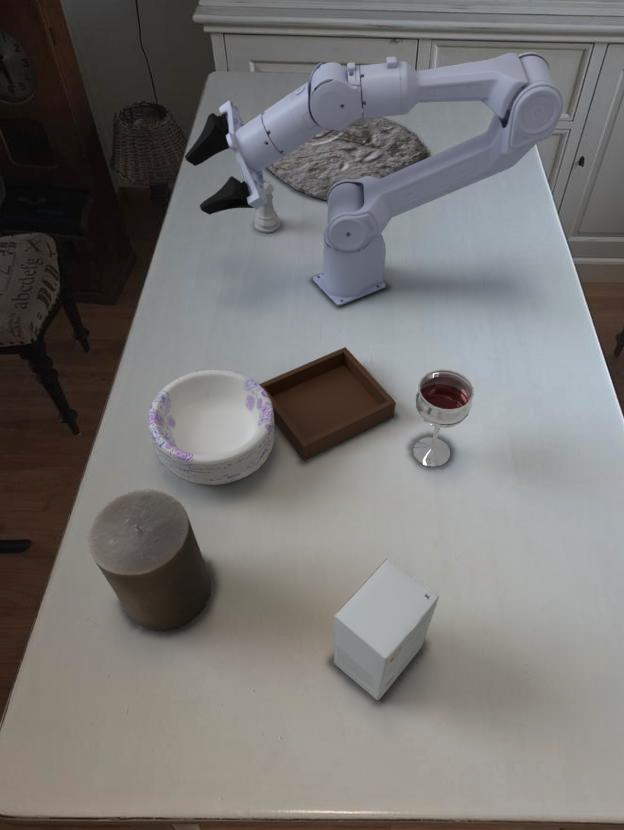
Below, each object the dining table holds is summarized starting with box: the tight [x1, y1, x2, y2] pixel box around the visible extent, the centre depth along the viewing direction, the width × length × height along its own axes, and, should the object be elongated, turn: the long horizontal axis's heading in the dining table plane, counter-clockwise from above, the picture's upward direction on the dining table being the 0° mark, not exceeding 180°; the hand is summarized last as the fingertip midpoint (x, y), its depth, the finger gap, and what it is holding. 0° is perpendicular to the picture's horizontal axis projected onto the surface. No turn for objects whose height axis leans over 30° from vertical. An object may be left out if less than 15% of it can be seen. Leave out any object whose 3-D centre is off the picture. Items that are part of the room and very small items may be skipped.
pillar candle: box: [85, 488, 212, 632], centre depth 65 cm, size 10×10×15 cm
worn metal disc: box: [266, 112, 430, 201], centre depth 127 cm, size 33×35×1 cm
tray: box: [258, 346, 397, 461], centre depth 87 cm, size 15×13×3 cm
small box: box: [333, 558, 440, 701], centre depth 63 cm, size 8×6×13 cm
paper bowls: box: [147, 368, 276, 486], centre depth 80 cm, size 15×15×8 cm
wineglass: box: [412, 369, 475, 467], centre depth 79 cm, size 7×7×12 cm
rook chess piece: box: [254, 178, 280, 234], centre depth 109 cm, size 4×4×8 cm
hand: (197, 185), depth 89 cm, fingers open, 7 cm apart
